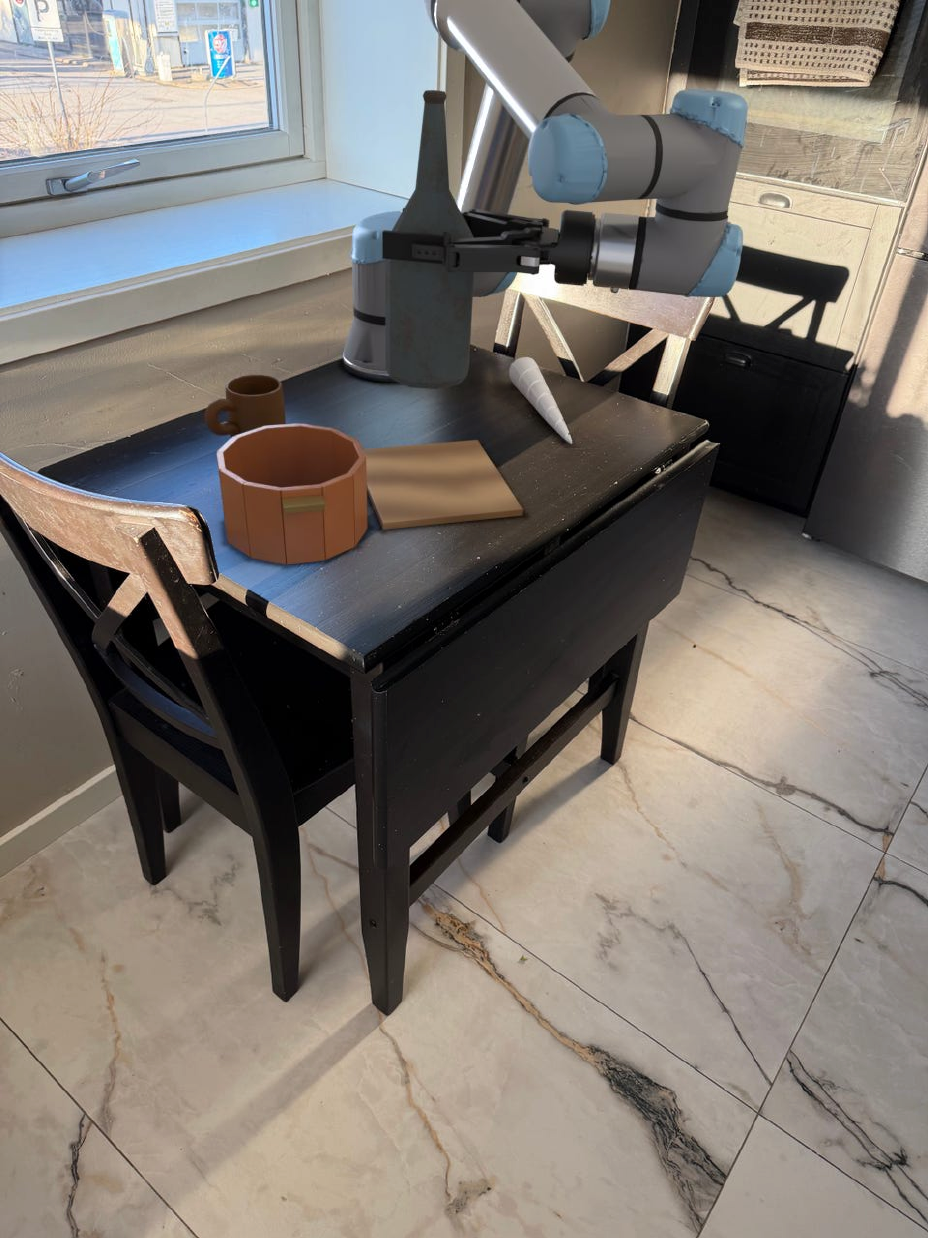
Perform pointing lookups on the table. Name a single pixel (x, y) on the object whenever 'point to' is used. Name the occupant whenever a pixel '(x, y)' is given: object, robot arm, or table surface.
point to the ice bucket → (293, 492)
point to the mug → (247, 405)
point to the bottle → (429, 275)
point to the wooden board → (436, 485)
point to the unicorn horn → (538, 393)
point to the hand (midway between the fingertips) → (393, 231)
